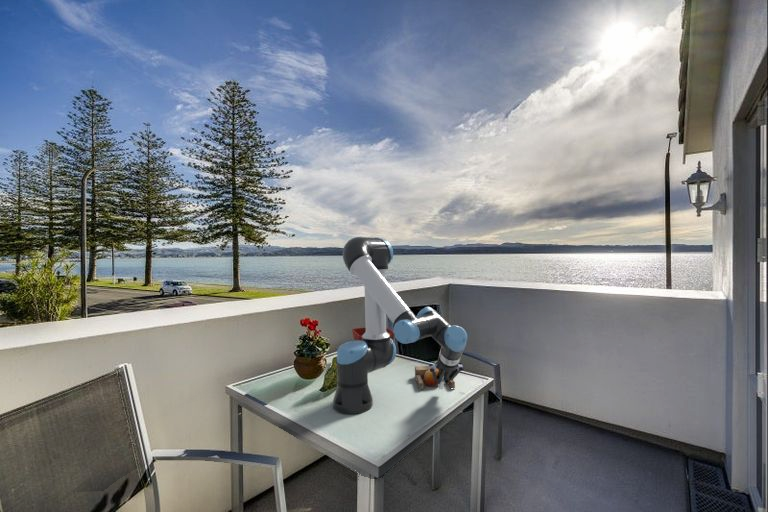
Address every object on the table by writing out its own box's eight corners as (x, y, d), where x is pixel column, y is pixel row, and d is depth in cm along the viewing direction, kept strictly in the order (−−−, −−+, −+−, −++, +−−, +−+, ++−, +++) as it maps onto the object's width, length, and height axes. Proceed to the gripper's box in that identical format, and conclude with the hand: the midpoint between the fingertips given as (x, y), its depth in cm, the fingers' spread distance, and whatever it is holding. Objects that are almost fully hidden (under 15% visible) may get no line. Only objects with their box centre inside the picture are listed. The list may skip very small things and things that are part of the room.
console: (416, 380, 150) (416, 369, 150) (414, 376, 155) (414, 366, 155) (449, 379, 151) (448, 368, 151) (446, 375, 156) (446, 365, 156)
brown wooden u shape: (419, 390, 139) (419, 383, 139) (416, 380, 150) (416, 374, 150) (454, 389, 140) (454, 382, 140) (449, 379, 151) (448, 373, 151)
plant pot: (352, 358, 185) (351, 328, 185) (384, 354, 191) (384, 325, 191) (360, 369, 167) (359, 335, 167) (395, 364, 173) (395, 332, 173)
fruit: (445, 385, 140) (435, 368, 141) (429, 393, 142) (419, 376, 144) (447, 379, 148) (437, 362, 149) (432, 386, 150) (423, 370, 151)
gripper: (433, 367, 116) (425, 395, 133) (469, 366, 117) (457, 394, 133) (429, 348, 121) (423, 377, 138) (464, 347, 122) (453, 376, 139)
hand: (440, 385), depth 136 cm, fingers closed
